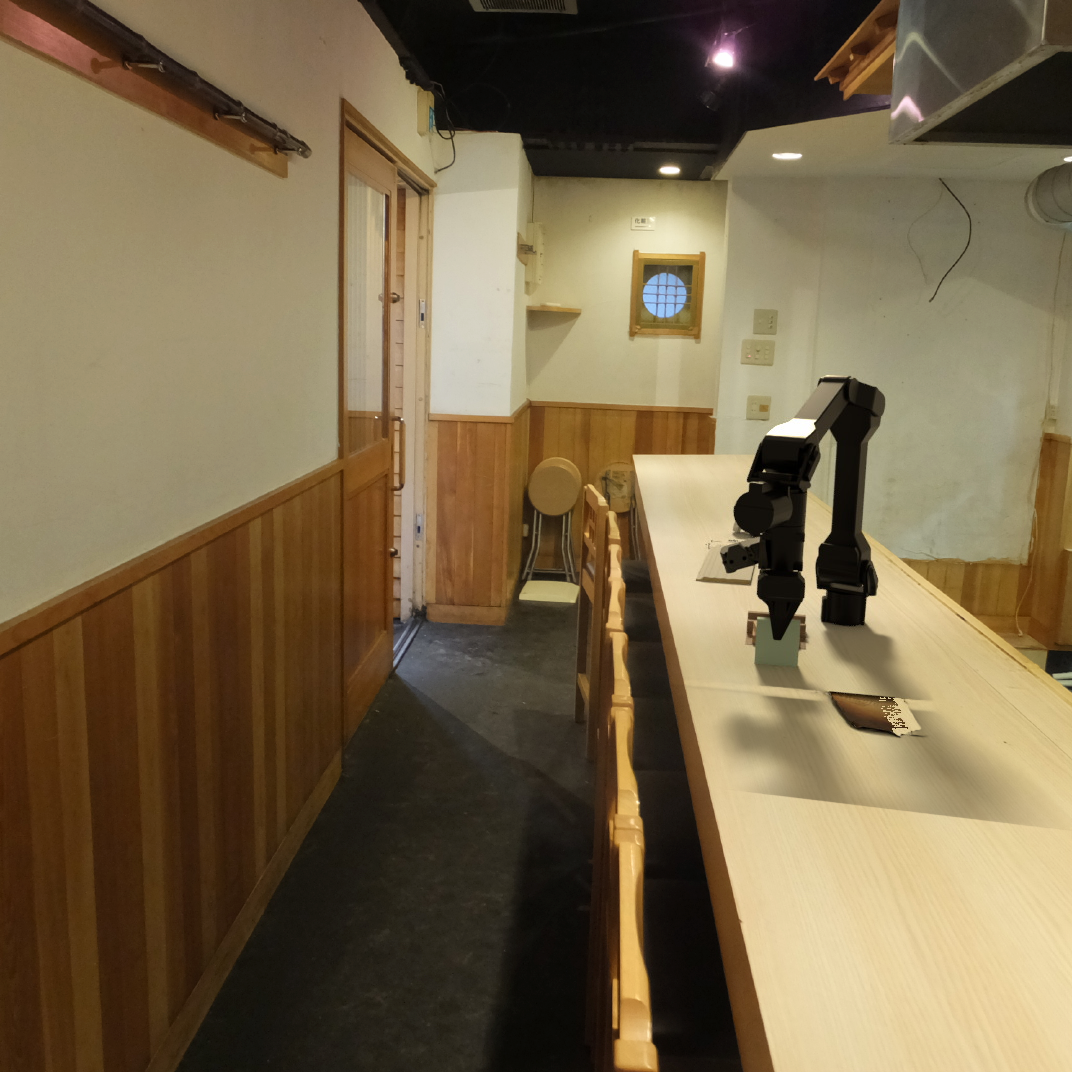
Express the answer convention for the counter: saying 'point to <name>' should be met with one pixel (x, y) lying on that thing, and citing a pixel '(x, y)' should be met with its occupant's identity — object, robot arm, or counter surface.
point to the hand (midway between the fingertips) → (777, 630)
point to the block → (777, 644)
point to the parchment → (867, 710)
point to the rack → (754, 614)
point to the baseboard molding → (722, 569)
